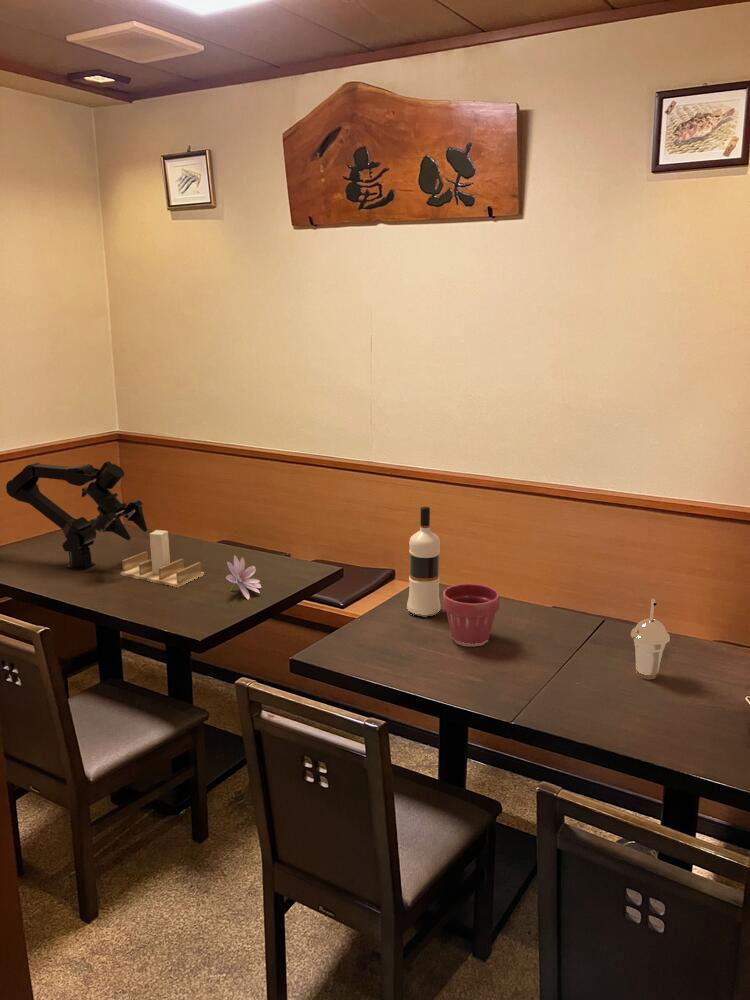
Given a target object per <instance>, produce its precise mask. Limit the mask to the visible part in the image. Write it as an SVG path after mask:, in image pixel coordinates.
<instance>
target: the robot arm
mask: <svg viewBox="0 0 750 1000" xmlns="http://www.w3.org/2000/svg"><path fill="white" fill-rule="evenodd" d="M124 476H125V471H124V469H123V468H122V467H121V466H120V465H119V466H118V465H117V464H115V463H112V462H111V461H109V460H108V461H104V463H103V464H102V466H101V467H100V468H97V467H94V466H93V465H92V464H89V463H88V464H86V463H85V464H78V465H77V464H76V465H73V466H65V465H56V464H55V465H54V464H46V463H45V464H44V463H40V462H34V463H31V464H27V465H26V466H25V467H24V468H23V469H22V470H21V471H20V472H19V473H18V474H16V475H15V476H14V477H13V478H12V479H10V480H9V481H7V482H6V486H5V487H6V488H5V489H6V494H7V495H8V496H9V497H10V498H11V499H12V498H13V499H14V500H16V501H18V502H22V503H26V504H29V505H30V506H32V507H33V508H34V509H35V510H36V511H38V512H39V513H40V514H42V515H43V516H44V517H45V518H47V519H48V520H49V521H51V522H52V523H54V524H55V525H56V526H57V527H59V528H60V529H61V530H62V532H63V534H64V537H65V538H66V540H65V541H64V542H63V543H62V544H61V546H62V549H63V551H64V552H67V553H68V557H69V564H66V565H65V566H66V568H69V569H73V570H76V571H82V570H84V569H87V568H89V567H92V566H95V565H96V562H93V561H92V554H91V549H90V546H93V545H94V543H95V540H96V538H97V531H98V532H100V533H101V532H103V533H106V532H108V533H109V532H111V533H114V534H116V535H117V536H119V537H121V538H123V539H124V540H126V541H130V540H131V536H130V533H129V531H128V530H127V529H126V527H125V525H124V524H123V521H122V520H121V518H122V517H124V519H127V521H129V522H132V523H134V524H135V525H136V526H137V527H139V528H140V530H141V531H143V532H145V533H146V532H147V531H148V527H147V523H146V519H145V516H144V511H143V509H144V507H143V506H144V503H143V502H142V501H141V500H140V499H135V500H133V501H130V502H129V503H126V502H124V503H122V502H121V501H120V499H118V497H119V495H118V493H117V492H115V493H113V492H112V491H111V489H112V490H113V489H114V488H115V487H116V486H117V485H118V483H119V482H120V481H121V480H122V479H123V478H124ZM40 478H41V479H51V480H57V481H58V480H60V481H64V482H67V483H68V484H69V485H72V486H76V487H81V486H84V485H87V486H85V487H83V488H81V497H82V498H85V497H90V498H91V500H92V501H94V503H95V505H96V504H97V507H96V510H97V511H98V513H99V514H98V515H97V516H96V517H94V518H91V519H90V521H88V520H87V518H85V517H84V516H81V517H79V518H74V517H73V516H72V515H70V514H69V513H68V512H67V511H65V510H64V509H62V508H61V507H60V506H59V505H58V504H56V503H55V502H53V501H52V500H51V499H50V498H48V497H47V496H45V495H44V493H42V492H41V491H40V487H39V485H38V482H39V481H40Z"/></svg>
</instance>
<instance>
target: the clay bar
mask: <svg viewBox="0 0 750 1000" xmlns="http://www.w3.org/2000/svg"><path fill="white" fill-rule="evenodd" d="M149 543H150V544H149V546H150V557H151V558H150V559H152V571H153V574H158V575H159V568H160V567H163V566H165V565H167V564H170V563H171V556H170V555H171V554H170V541H169V531H168V530H161V529H155V530H153V531H152V532H150V533H149Z"/></svg>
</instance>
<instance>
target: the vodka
mask: <svg viewBox="0 0 750 1000" xmlns="http://www.w3.org/2000/svg"><path fill="white" fill-rule="evenodd" d="M419 510H420V517H419V518H420V521H419V526H420V528H419V530H418V531H417V532H415V533H414V534H412V535H411V536H410V537H409V541H408V543H409V546H408V547H409V549H408V551H409V576H408V580H409V581H408V582H409V589H408V599H407V603H406V609H408V610H407V612H408V611H410V612H412V613H415V614H421V615H429V614H434V613H437V612H439V611H440V612H441V610H440V609H441V607H442V606H441V604H442V603H441V602H440V588H439V587H440V580H441V579H440V578H441V577H440V553H441V550H440V549H441V540H440V537H439V536H438V535H437V534H435V533H434V532H432V531H431V529H430V528H431V507H430V506H421V507H420V509H419ZM440 612H439V613H440Z"/></svg>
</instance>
